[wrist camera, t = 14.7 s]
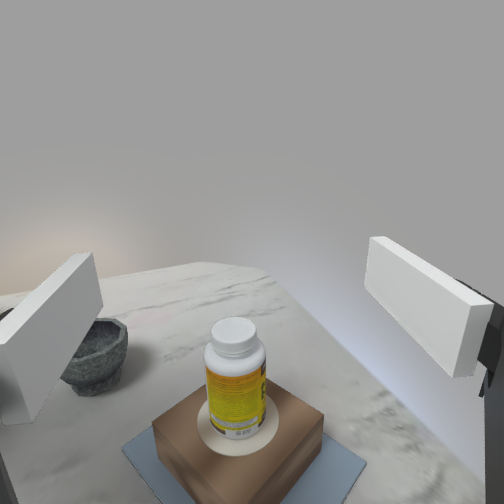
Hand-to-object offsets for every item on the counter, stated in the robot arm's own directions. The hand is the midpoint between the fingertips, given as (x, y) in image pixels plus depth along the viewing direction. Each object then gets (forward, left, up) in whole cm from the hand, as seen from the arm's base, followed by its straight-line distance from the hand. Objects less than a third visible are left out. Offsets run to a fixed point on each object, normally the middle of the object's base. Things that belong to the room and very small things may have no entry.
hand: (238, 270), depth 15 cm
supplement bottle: (-7, +6, -20) cm, 22 cm away
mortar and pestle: (-30, 0, -26) cm, 40 cm away
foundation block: (-7, +6, -25) cm, 27 cm away
